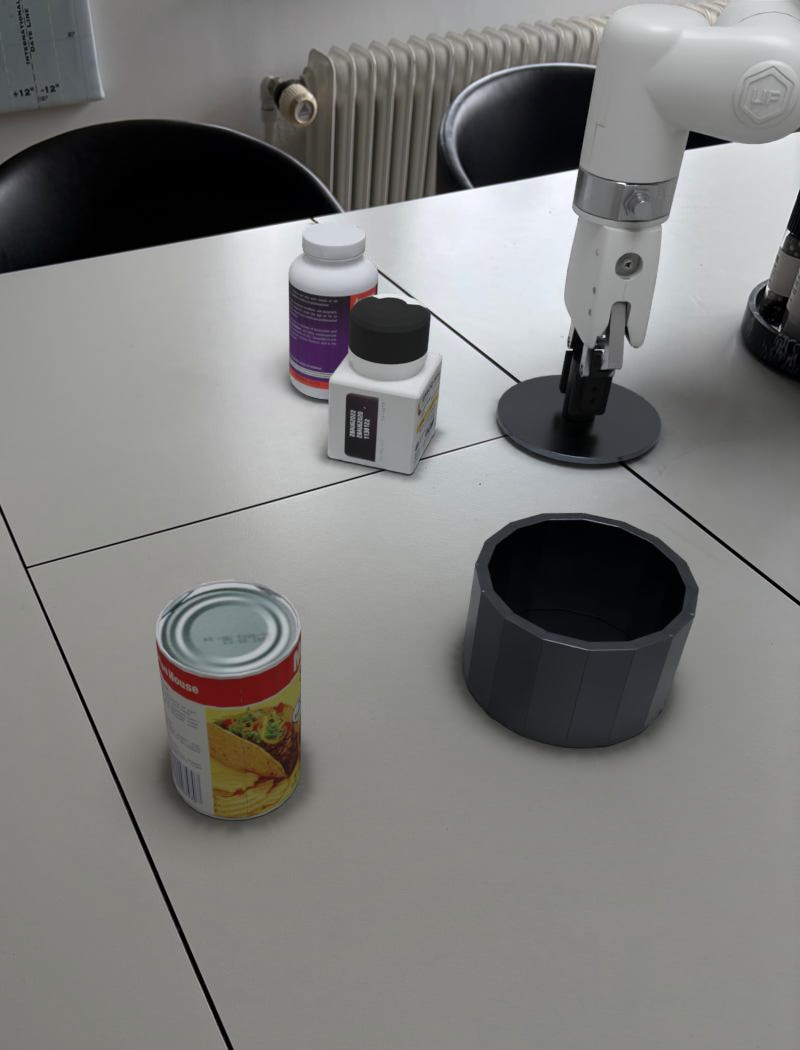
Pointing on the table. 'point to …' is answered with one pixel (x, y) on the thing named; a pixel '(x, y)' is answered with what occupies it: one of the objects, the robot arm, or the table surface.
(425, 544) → the table surface
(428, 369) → the container
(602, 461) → the tin lid
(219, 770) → the canned food
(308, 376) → the pill bottle
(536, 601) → the tin
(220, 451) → the table surface
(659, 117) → the robot arm
